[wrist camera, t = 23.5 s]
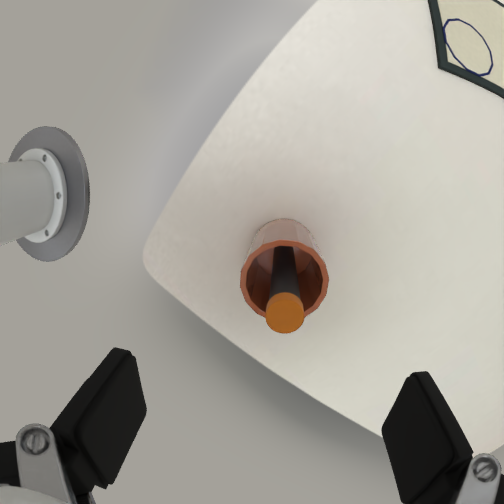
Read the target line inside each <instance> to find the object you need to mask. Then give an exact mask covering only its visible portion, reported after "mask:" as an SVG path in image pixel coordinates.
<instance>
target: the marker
mask: <svg viewBox="0 0 504 504" xmlns="http://www.w3.org/2000/svg"><path fill="white" fill-rule="evenodd" d="M265 318H266V322H267V324H268V326H269V327H270V328H271V329H272V330H274V331H276V332H279V333H291V332H293V331H295V330H297V329H298V328H299V327H300V326H301V325H302V323H303V321H304V309H303V304H302V302H301V300H300V292H299V284H298V277H297V270H296V262H295V255H294V249H293V247H291V246H278V247H275V248H274V254H273V265H272V275H271V285H270V295H269V301H268V303H267V306H266V314H265Z"/></svg>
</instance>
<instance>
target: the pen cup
mask: <svg viewBox="0 0 504 504" xmlns="http://www.w3.org/2000/svg"><path fill="white" fill-rule="evenodd" d="M278 246H291V247H293V249H294V255H295V262H296V270H297V277H298V284H299V292H300V300H301V302H302V304H303V309H304V317H306V316H307V315H309V314H310V313H312V312H313V311H314V310H316V309H317V308H318V307H319V305H320V304H321V302H322V301H323V299H324V297H325V296H326V294H327V288H328V282H329V277H328V273H327V269H326V265H325V262H324V260H323V258H322V255H321V253H320V251H319V249H318V246H317V244H316V242H315V240H314V238H313V236H312V235H311V233H310V232H309V230H308V229H307V228H306V227H305V226H304V225H302V224H301V223H299V222H297V221H294V220H291V219H277V220H273V221H271V222H269V223H267V224H265V225H264V226H263V227H262V228H261V229H260V230H259V231H258V232H257V234H256V236H255V238H254V240H253V242H252V244H251V247H250V249H249V252H248V254H247V257H246V259H245V262H244V264H243V267H242V270H241V279H240V288H241V291H242V293H243V296H244V299H245V301H246V303H247V304H248V305H249V306H250V307H251V308H252V309H253V310H254V311H255V312H256V313H257V314H259V315H261V316H263V317H265V314H266V306H267V303H268V301H269V295H270V285H271V275H272V265H273V254H274V248H275V247H278Z"/></svg>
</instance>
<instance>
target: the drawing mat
mask: <svg viewBox="0 0 504 504" xmlns="http://www.w3.org/2000/svg"><path fill="white" fill-rule="evenodd" d="M428 2H429V7H430V12H431V17H432V22H433V28H434V35H435V42H436V49H437V58H438V68H439V69H442V70H445V71H447V72H450V73H452V74H455V75H457V76H459V77H462V78H464V79H466V80H468V81H471V82H473V83H475V84H477V85H479V86H481V87H483V88H485V89H487V90H489V91H491V92H493V93H495V94H497V95H499V96H501V97H502V98H504V4H502V3H501V2H499V1H498V0H428Z"/></svg>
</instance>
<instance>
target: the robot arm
mask: <svg viewBox="0 0 504 504" xmlns="http://www.w3.org/2000/svg"><path fill="white" fill-rule="evenodd" d="M66 208H67V184H66V179H65V175H64V172H63V169H62V166H61V164H60V163H59V161H58V159H57V158H56V157H55V155H54V154H53V153H51V152H50V151H48V150H46V149H43V148H34V149H30V150H28V151H26V152H25V153H23V154H22V155H21V156H20V158H19V159H18V160H17V161H16V162H6V163H0V246H2V245H4V244H7V243H9V242H12V241H14V240H17V239H19V238H22V237H25V238H26V239H28V240H29V241H31V242H35V243H42V242H45V241H47V240H49V239H51V238H53V237H54V236H55V235H56V234H57V232H58V231H59V229H60V228H61V226H62V223H63V221H64V218H65V214H66ZM146 409H147V408H146V404H145V400H144V395H143V391H142V387H141V382H140V377H139V372H138V367H137V362H136V358H135V357H134V356H132V354H131V352H130V351H128V350H124V349H120V348H113V349H112V350H111V351H110V352H109V354H108V355H107V356H106V358H105V359H104V360H103V361H102V363H101V364H100V365H99V366H98V367H97V369H96V370H95V371H94V373H93V374H92V375H91V376H90V378H88V379H87V380H86V381H85V382H84V384H83V385H82V386H81V388H80V389H79V390H78V391H77V393H76V394H75V395H74V396H73V398H72V399H71V400H70V402H69V403H68V404H67V406H66V407H65V408H64V410H63V411H62V412H61V414H60V415H59V416H58V418H57V419H56V420H55V422H54V423H53V424H52V426H51V427H50V428H47V427H46V426H44V425H41V424H29V425H26V426H25V427H23V428H22V429H21V430H20V431H19V432H18V434H17V436H16V441H10V442H4V443H0V504H96V503H95V500H94V498H93V495H92V493H91V492H92V490H93V488H94V486H95V485H96V486H99V487H101V488H103V489H106V488H107V486H108V484H113V483H114V481H115V479H116V477H117V475H118V473H119V470H120V468H121V466H122V464H123V462H124V460H125V458H126V456H127V453H128V451H129V449H130V447H131V445H132V443H133V441H134V439H135V437H136V435H137V432H138V430H139V428H140V426H141V424H142V422H143V420H144V418H145V416H146V411H147V410H146ZM382 436H383V439H384V442H385V445H386V449H387V452H388V455H389V459H390V462H391V466H392V469H393V473H394V476H395V480H396V484H397V488H398V491H399V495H400V499H401V502H402V503H403V504H504V475H503V474H501V465H500V463H499V461H498V460H497V459H496V458H495V457H494V456H493V455H490V454H486V453H482V454H478V455H476V456H475V457H474V458H473V457H472V454H473V453H474V452H473V450H472V448H471V446H470V444H469V442H468V440H467V439H466V437H465V435H464V433H463V431H462V429H461V427H460V425H459V424H458V422H457V420H456V418H455V416H454V415H453V413H452V411H451V409H450V407H449V406H448V404H447V402H446V401H445V399H444V397H443V395H442V394H441V392H440V390H439V389H438V387H437V385H436V384H435V382H434V380H433V379H432V377H431V375H430V374H429V373H428V372H427V371H424V372H414V373H412V374H411V375H410V376H409V377H407V378H406V380H405V382H404V384H403V386H402V388H401V391H400V393H399V395H398V397H397V399H396V401H395V403H394V405H393V407H392V409H391V411H390V412H389V414H388V416H387V418H386V420H385V422H384V424H383V426H382Z"/></svg>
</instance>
